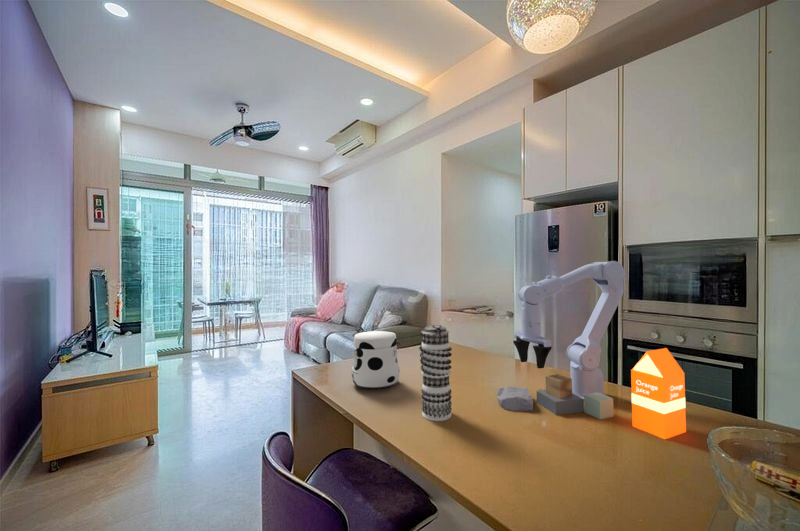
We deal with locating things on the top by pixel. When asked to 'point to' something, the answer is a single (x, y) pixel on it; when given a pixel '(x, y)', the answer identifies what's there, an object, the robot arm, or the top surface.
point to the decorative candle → (435, 373)
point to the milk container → (375, 360)
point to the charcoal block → (560, 403)
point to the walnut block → (559, 386)
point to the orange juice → (658, 395)
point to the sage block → (598, 405)
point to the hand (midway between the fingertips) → (532, 364)
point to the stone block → (515, 398)
